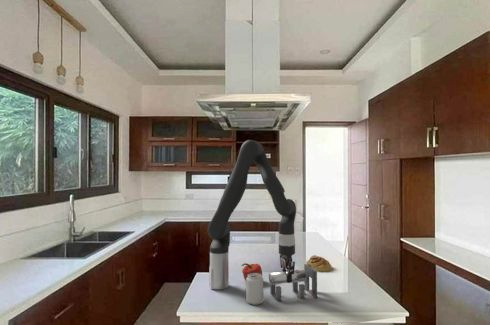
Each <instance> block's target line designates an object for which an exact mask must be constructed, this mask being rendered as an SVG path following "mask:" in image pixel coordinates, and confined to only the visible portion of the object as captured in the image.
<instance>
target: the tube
mask: <svg viewBox="0 0 490 325" xmlns="http://www.w3.org/2000/svg"><path fill="white" fill-rule="evenodd" d="M268 280H269V285H270V284H271V285H272V284H275V285H280V284H288V283H287V272H283V271H279V272H277V271H276V272H269V274H268ZM305 280H306V274H305V271H304V269H301V270H300V269H294V274H292V284H293V282H298V283H301V282H304V281H305Z"/></svg>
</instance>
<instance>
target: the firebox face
mask: <svg viewBox="0 0 490 325" xmlns="http://www.w3.org/2000/svg"><path fill="white" fill-rule="evenodd" d="M303 270H304V271H305V274H306V280H305V281H303V282H304V283H303V284H304V285H305V292H307V293H308V294H309V295H310V294H311V295H312V296H313V297H312V296H311V295H310V296H311V297H312V298H314V299H315V300H317V299H318V272H317V271H315V270H314V269H312V268H311V267H309V266H308V265H307V264H306V263H305V264H304V269H303ZM310 278H311V290H310ZM316 298H317V299H316Z"/></svg>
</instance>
